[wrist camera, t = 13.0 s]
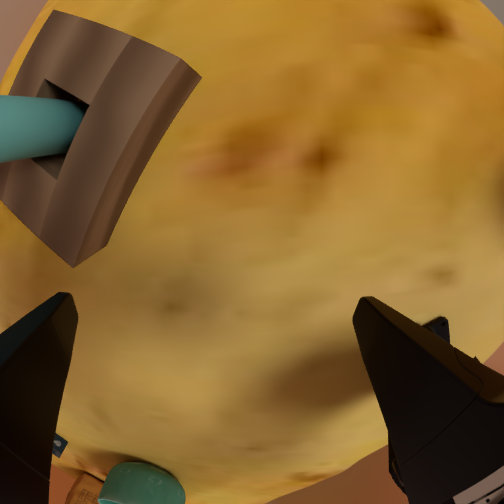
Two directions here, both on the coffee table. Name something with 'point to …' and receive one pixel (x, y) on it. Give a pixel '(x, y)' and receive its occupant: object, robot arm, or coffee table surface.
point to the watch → (59, 445)
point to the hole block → (92, 130)
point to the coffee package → (85, 490)
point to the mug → (140, 485)
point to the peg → (37, 126)
